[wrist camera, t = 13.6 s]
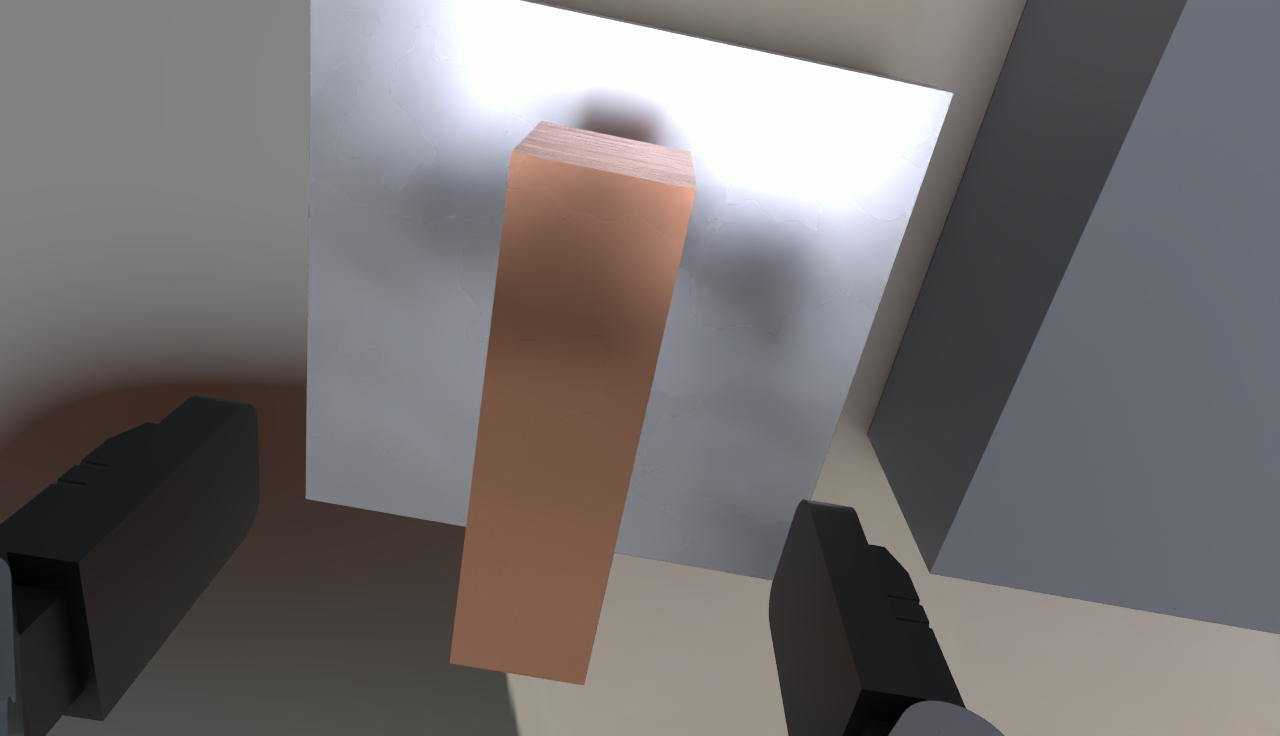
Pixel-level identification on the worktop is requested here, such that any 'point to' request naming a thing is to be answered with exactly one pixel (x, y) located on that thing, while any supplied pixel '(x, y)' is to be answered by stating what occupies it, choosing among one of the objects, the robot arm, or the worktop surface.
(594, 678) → the worktop surface
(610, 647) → the worktop surface
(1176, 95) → the housing
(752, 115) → the cover
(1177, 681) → the worktop surface
